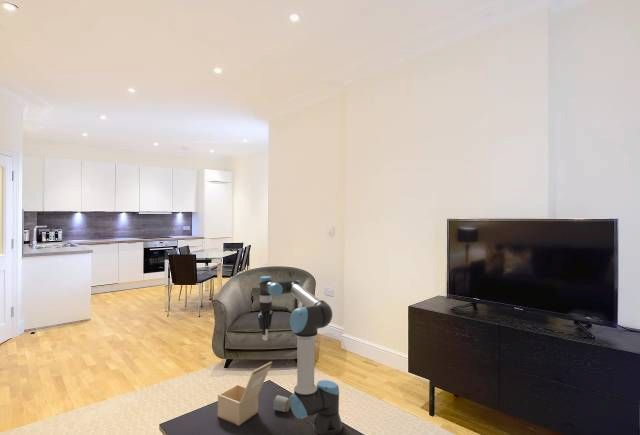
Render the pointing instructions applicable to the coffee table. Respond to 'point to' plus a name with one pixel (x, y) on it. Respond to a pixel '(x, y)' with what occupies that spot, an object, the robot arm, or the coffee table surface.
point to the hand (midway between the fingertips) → (265, 339)
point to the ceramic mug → (281, 403)
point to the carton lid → (255, 382)
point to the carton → (236, 405)
